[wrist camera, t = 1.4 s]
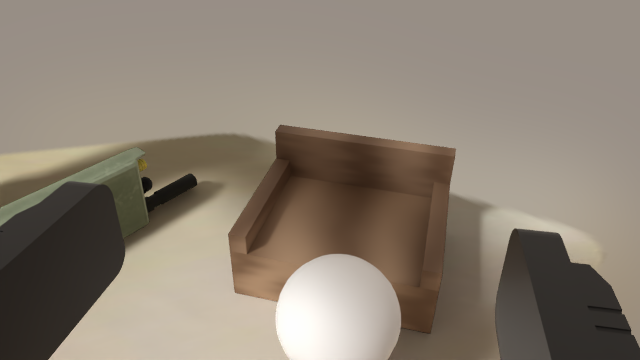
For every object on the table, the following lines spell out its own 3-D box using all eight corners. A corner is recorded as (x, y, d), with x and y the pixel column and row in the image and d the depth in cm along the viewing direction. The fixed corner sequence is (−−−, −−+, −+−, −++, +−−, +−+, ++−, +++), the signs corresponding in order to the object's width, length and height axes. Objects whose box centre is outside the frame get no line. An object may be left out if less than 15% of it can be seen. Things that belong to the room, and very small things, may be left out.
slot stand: (234, 292, 37) (224, 203, 32) (282, 203, 46) (280, 124, 41) (430, 333, 34) (448, 242, 29) (440, 230, 43) (455, 148, 38)
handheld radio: (-130, 354, 32) (183, 183, 49) (-111, 384, 31) (206, 197, 47) (-186, 281, 28) (174, 121, 45) (-167, 311, 27) (199, 134, 43)
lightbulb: (400, 453, 27) (426, 314, 21) (287, 473, 26) (280, 333, 20) (371, 358, 32) (386, 223, 26) (275, 371, 31) (267, 235, 25)
